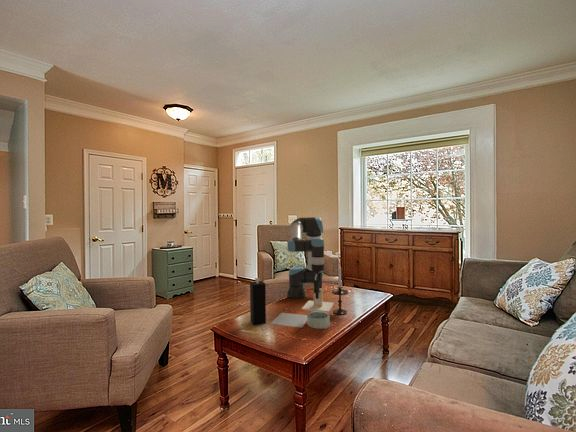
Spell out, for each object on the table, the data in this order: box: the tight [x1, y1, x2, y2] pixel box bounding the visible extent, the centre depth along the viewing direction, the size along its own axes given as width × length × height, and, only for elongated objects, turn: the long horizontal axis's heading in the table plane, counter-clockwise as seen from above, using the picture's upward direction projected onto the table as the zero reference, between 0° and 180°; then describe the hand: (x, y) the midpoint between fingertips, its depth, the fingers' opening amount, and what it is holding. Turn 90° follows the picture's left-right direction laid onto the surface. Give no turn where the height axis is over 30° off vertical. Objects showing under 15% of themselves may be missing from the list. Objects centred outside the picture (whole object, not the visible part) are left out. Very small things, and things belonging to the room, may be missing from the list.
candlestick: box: [331, 261, 349, 316], centre depth 198 cm, size 11×11×35 cm
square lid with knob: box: [301, 287, 335, 313], centre depth 177 cm, size 16×16×11 cm
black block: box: [249, 277, 267, 326], centre depth 181 cm, size 8×8×28 cm
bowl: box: [306, 311, 331, 330], centre depth 177 cm, size 13×13×6 cm
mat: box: [269, 312, 308, 328], centre depth 185 cm, size 20×20×1 cm
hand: (318, 302), depth 177 cm, fingers closed on square lid with knob, 3 cm apart
